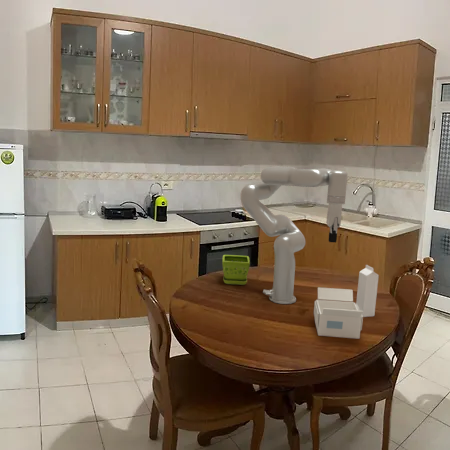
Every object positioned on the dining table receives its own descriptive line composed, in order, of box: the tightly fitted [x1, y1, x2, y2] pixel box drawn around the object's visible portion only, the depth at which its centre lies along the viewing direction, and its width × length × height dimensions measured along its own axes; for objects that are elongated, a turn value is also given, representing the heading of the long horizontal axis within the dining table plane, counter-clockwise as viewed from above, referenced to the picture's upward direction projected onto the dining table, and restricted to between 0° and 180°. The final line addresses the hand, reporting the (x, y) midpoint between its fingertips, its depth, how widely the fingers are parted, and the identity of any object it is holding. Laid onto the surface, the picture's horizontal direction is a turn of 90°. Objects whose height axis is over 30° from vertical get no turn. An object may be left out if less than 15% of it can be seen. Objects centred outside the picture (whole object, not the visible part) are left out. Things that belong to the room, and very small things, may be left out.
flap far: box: [317, 286, 354, 302], centre depth 208 cm, size 15×5×1 cm
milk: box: [355, 264, 380, 318], centre depth 215 cm, size 6×6×22 cm
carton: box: [313, 299, 364, 340], centre depth 199 cm, size 17×16×9 cm
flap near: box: [322, 308, 363, 318], centre depth 188 cm, size 15×5×1 cm
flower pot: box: [221, 254, 251, 286], centre depth 253 cm, size 14×14×13 cm
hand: (332, 241), depth 211 cm, fingers closed
